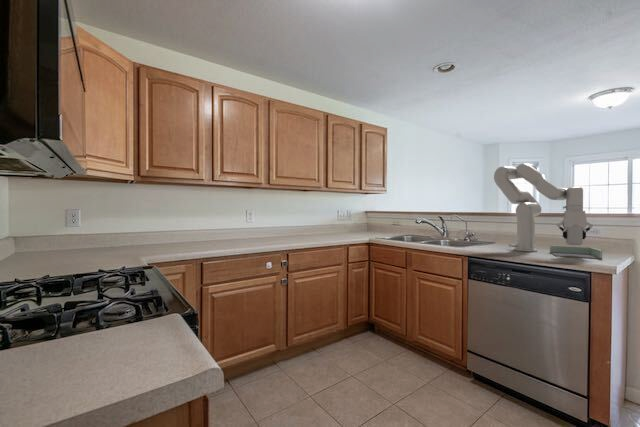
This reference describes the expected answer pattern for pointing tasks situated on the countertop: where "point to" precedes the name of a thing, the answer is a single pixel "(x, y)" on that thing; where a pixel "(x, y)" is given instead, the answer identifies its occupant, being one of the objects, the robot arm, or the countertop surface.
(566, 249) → the arena
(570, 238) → the can
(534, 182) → the robot arm
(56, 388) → the countertop surface
